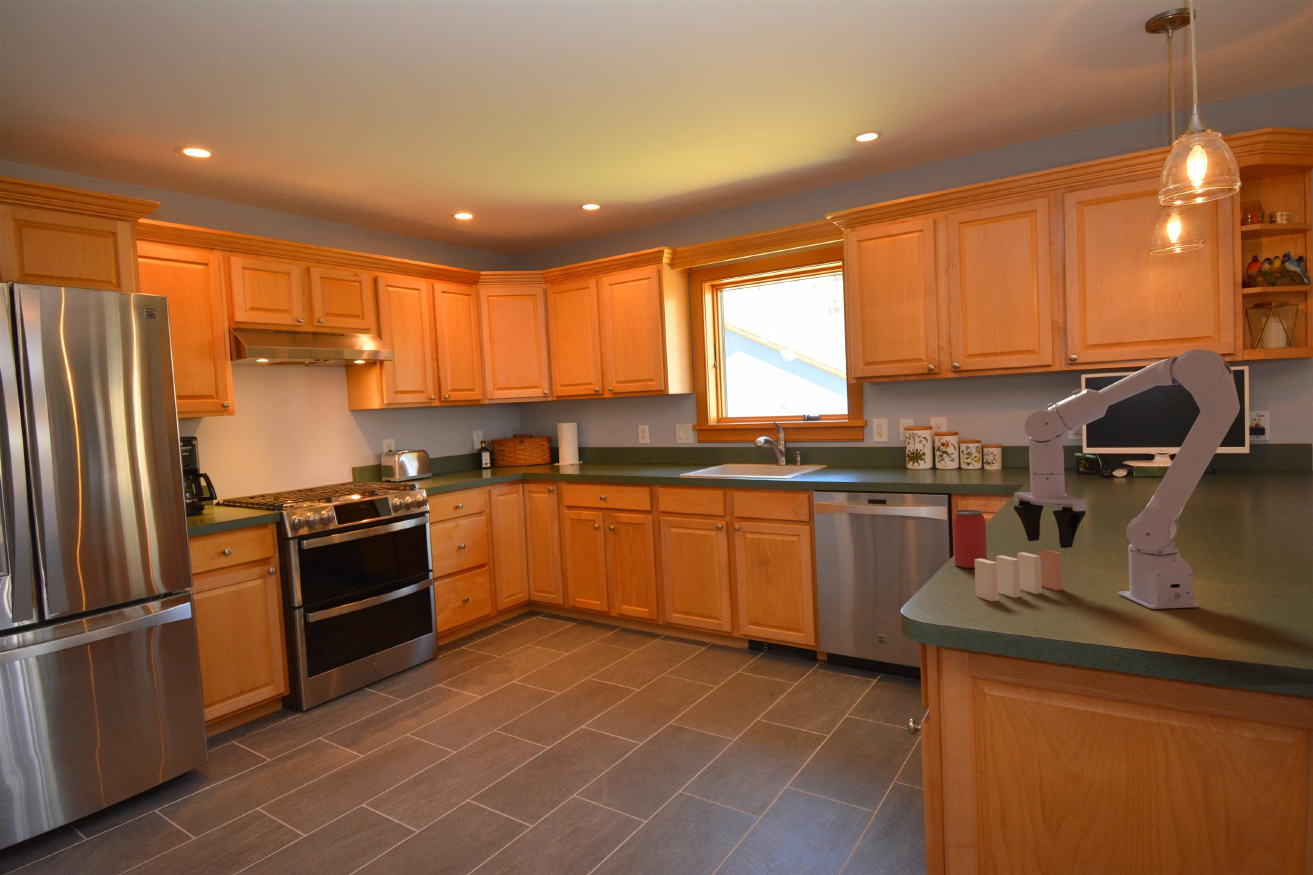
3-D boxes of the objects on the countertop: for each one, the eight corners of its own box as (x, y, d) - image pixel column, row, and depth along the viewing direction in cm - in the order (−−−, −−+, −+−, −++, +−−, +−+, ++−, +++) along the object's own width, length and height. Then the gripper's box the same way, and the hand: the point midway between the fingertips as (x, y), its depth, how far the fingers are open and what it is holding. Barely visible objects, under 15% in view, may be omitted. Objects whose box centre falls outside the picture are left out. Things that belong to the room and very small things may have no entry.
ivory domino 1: (982, 594, 132) (980, 558, 132) (998, 600, 129) (997, 562, 128) (975, 596, 132) (974, 559, 132) (991, 601, 128) (990, 563, 128)
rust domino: (1045, 584, 137) (1043, 549, 137) (1062, 589, 133) (1061, 552, 133) (1039, 585, 136) (1037, 549, 136) (1056, 590, 133) (1055, 553, 132)
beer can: (989, 569, 150) (987, 514, 150) (955, 569, 152) (953, 514, 152) (985, 562, 156) (983, 509, 156) (953, 561, 159) (951, 509, 158)
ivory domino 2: (1003, 591, 134) (1002, 555, 134) (1020, 596, 130) (1019, 559, 130) (997, 592, 133) (996, 556, 133) (1013, 597, 130) (1012, 560, 129)
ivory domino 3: (1024, 587, 135) (1023, 552, 135) (1041, 592, 132) (1040, 556, 131) (1018, 588, 135) (1017, 553, 135) (1035, 593, 131) (1034, 556, 131)
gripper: (1097, 474, 128) (1099, 547, 128) (1033, 468, 142) (1035, 535, 142) (1066, 477, 126) (1069, 552, 126) (1004, 471, 140) (1007, 539, 140)
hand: (1049, 543), depth 134 cm, fingers open, 7 cm apart
